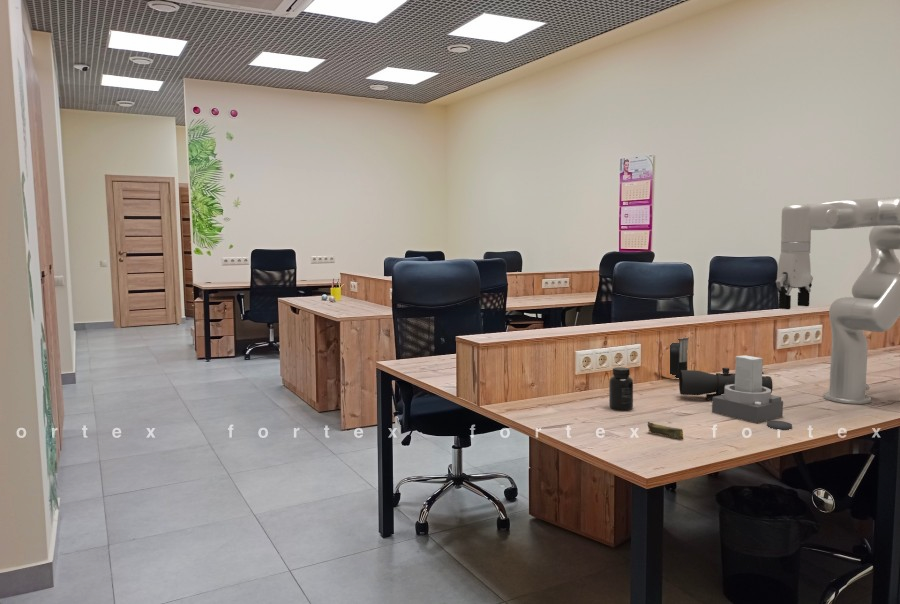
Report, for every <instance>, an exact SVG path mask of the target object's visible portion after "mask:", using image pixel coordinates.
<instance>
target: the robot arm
mask: <svg viewBox="0 0 900 604" xmlns="http://www.w3.org/2000/svg"><path fill="white" fill-rule="evenodd" d="M869 227H872V228H871V230H870V232H869V235H868V241H869V247H870V255H871V256H870V260H869V262H868V264H867V266H866V267H865V268H864V270H863V271H862V272H861V274H860V275H858V277H857V279H856V280H855V282H854V284H853V285H852V287H851V295H852V296H853V297H852V296H849V297H847V296H844V297H840V298H837V299H835V300H834V301H833V302H832V303H831V304H830V306H829V310H828V315H829V316H828V317H829V322H830V329H831V348H830V351H831V352H830V367H829V368H830V369H829V370H830V371H829V388H828V389H829V390H828V391H824V392H823V398H824V399H826V400H829V401H832V402H836V403H840V404H841V403H842V404H855V405H861V404H862V405H864V404H869V403H871V402H872V398H871V396H869V395H866V392H867V391H869V390H870V388H871V387H870V385H869V384H867V370H868V369H867V368H868V353H869V351H868V350H869V349H868V348H869V345H868V340H867V337H866V335H865V333H864V331H867V332H877V333H884V332H886V331H888V330H890V329H891V328H893V326H894V325H895V323H896V322H897V321H898V319H899V318H900V261H899V258H898V256H897V255H896V253H895V251H894V250H900V196H892V197H889V196H888V197H875V198H874V197H873V198H861V199H844V200H836V201H830V202H824V203H812V204H811V203H810V204H808V203H807V204H794V205H793V204H790V205H785V206H784V207H782V210H781V227H780V228H781V229H780V230H781V231H780V232H781V233H780V237H781V240H780V254H779V259H778V264H777V274H776V280H775V284H776V290H777V294H778V309H780V310H790V309H792V308H791V306H792V305H791V304H792V303H791V302H792V298H791V297H792V295H790V294H791V291H792V289H797V290H798V291H799V292H797V306H798V307H809V306H810V293H811V291H812V290H811V288H812V286H813V285H812V283H813V280H814V276H812V275H811V257H810V256H811V255H810V254H811V242H812V241H811V240H812V237H811V236H812V231H825V230H829V229H830V230H831V229H833V230H841V229H844V230H845V229H858V228H869Z"/></svg>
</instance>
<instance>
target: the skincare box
mask: <svg viewBox="0 0 900 604" xmlns="http://www.w3.org/2000/svg"><path fill="white" fill-rule="evenodd" d="M763 359H764V358H763V357H757V356H750V355H746V354H745V355H736V356H735V362H734V363H735V365H734V367H735V368H734V374H735V390H736V391H741V392H750V393H758V392H762V376H763V374H762V372H763V366H764V365H763V361H764V360H763Z"/></svg>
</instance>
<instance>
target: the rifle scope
mask: <svg viewBox="0 0 900 604" xmlns="http://www.w3.org/2000/svg"><path fill="white" fill-rule="evenodd" d="M721 370H722V373H720V372H717V373H715V374H714V373H710V372H705V371H702V370H689V369H687V370H680V374H679V379H678V386H679V387H678V389H679V394H680V395H682V396H703V395H705V399H707V401H708V402H709V401H711V402H712V397H715V396H720V395H724V388H725V386H726V385H731V384H735V373H730V367H722V368H721ZM763 375H764V371H762V386H763V387H766V388H769V389H771V394H772V393H773V385H774V383H773V379H772V377H771V376H768V375H767V376H766V375H765V376H763Z"/></svg>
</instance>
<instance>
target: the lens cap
mask: <svg viewBox="0 0 900 604" xmlns="http://www.w3.org/2000/svg"><path fill="white" fill-rule="evenodd" d="M767 426H768V427H767ZM766 427H767V428H769V427H770V428H769V429H772V428H773V429H772V430H777V429H782V430H781V431H790V430H789V429H791V430H792V429H793V424H792V423H791V422H788V421H783V420H769V421H766Z"/></svg>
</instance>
